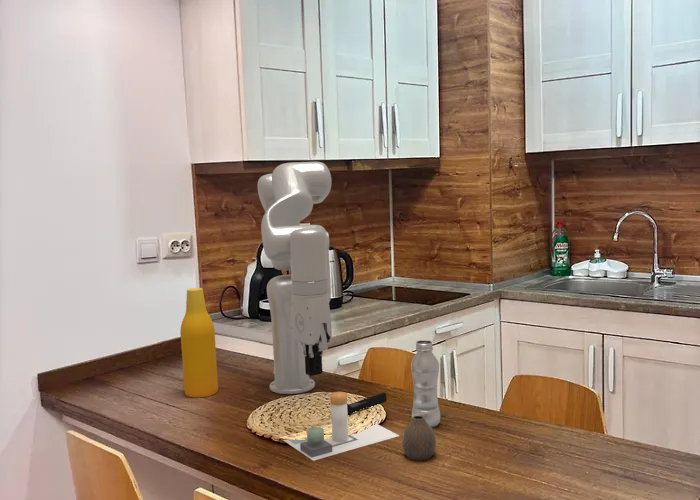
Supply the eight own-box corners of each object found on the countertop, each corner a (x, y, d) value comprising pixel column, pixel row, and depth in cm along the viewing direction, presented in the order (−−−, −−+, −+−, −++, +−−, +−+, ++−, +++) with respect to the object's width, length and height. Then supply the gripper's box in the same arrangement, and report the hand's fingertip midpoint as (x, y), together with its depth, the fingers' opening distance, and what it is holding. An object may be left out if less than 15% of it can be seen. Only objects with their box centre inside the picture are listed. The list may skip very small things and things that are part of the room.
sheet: (278, 439, 159) (278, 436, 159) (360, 418, 170) (360, 415, 170) (313, 463, 145) (313, 460, 145) (399, 438, 157) (399, 435, 156)
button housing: (300, 449, 151) (300, 443, 151) (320, 444, 153) (320, 437, 153) (311, 457, 147) (311, 450, 146) (332, 451, 149) (332, 444, 149)
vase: (402, 451, 149) (400, 411, 148) (434, 451, 149) (433, 410, 148) (403, 465, 142) (402, 423, 141) (437, 464, 142) (436, 422, 141)
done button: (304, 438, 150) (303, 429, 150) (319, 434, 152) (318, 425, 152) (312, 443, 147) (312, 434, 147) (327, 439, 149) (326, 430, 149)
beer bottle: (216, 385, 201) (209, 285, 197) (220, 395, 192) (214, 290, 188) (182, 390, 198) (175, 288, 194) (186, 400, 189) (178, 293, 186)
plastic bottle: (423, 419, 168) (421, 337, 165) (446, 426, 163) (444, 341, 160) (406, 427, 163) (403, 342, 161) (428, 434, 158) (426, 347, 156)
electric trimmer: (390, 405, 180) (390, 393, 180) (346, 420, 170) (346, 407, 169) (380, 402, 183) (379, 390, 182) (336, 417, 172) (336, 404, 172)
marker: (328, 438, 157) (326, 393, 155) (343, 434, 159) (341, 390, 157) (337, 443, 153) (335, 398, 152) (351, 439, 155) (350, 394, 154)
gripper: (277, 286, 150) (282, 369, 152) (311, 294, 138) (316, 386, 140) (308, 281, 154) (312, 363, 156) (344, 290, 142) (348, 378, 144)
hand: (314, 373), depth 148 cm, fingers closed
